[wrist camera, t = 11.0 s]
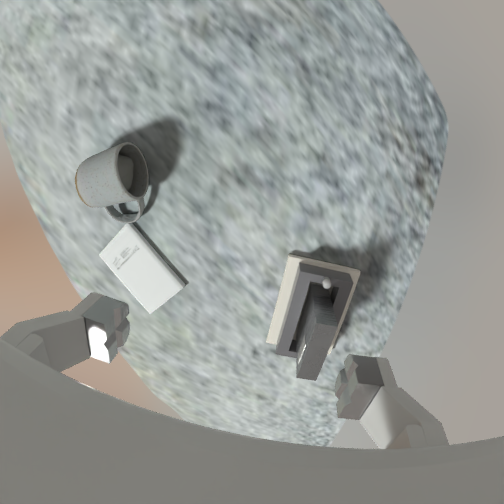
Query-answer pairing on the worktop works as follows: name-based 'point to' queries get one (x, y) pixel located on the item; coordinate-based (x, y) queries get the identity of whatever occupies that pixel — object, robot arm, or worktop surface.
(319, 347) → the block
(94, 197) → the ceramic mug
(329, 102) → the worktop surface
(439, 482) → the robot arm
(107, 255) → the external hard drive
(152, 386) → the worktop surface
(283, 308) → the dock
